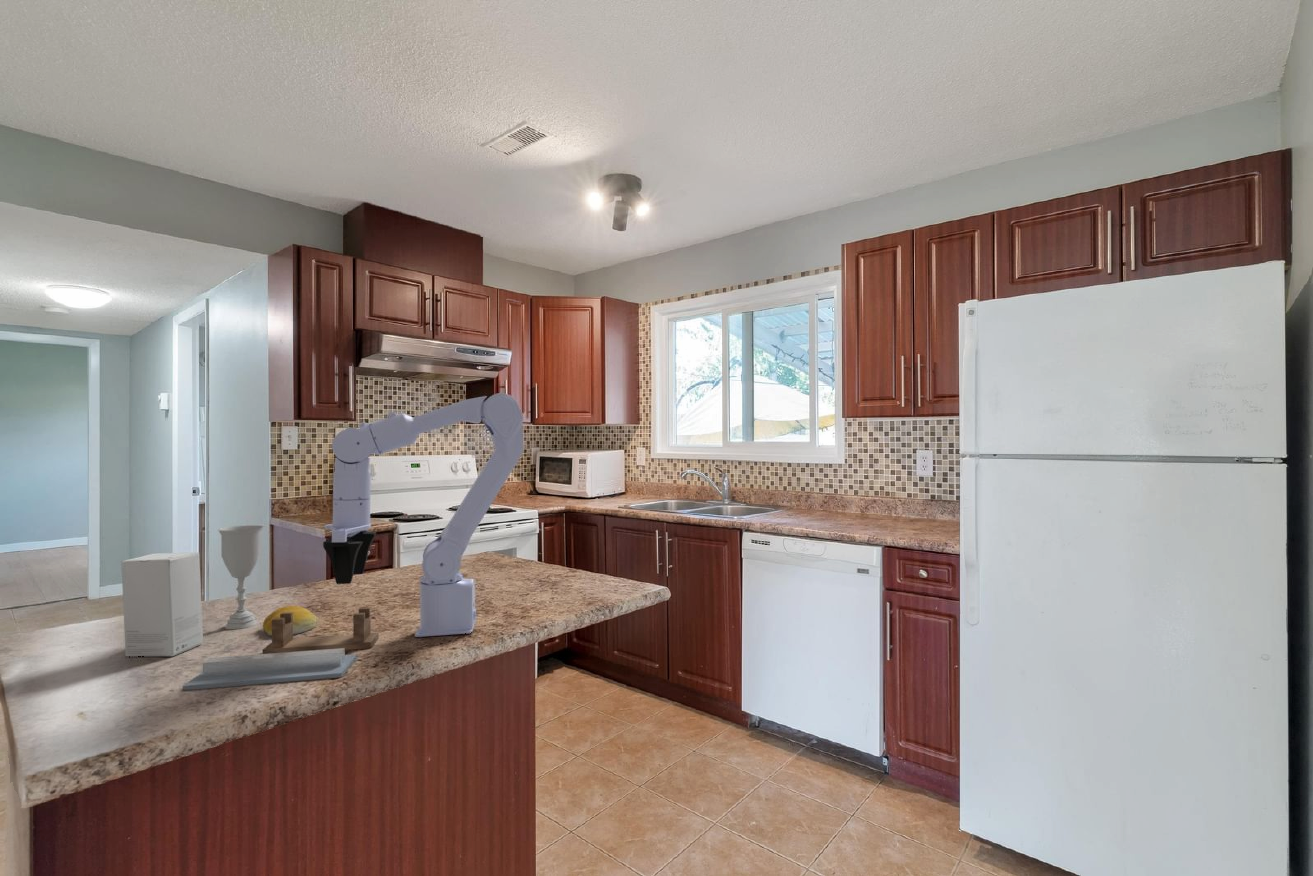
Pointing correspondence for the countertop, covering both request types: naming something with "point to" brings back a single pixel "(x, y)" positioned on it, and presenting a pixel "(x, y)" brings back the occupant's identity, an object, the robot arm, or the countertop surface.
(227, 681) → the slate mat
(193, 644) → the skincare box
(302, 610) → the bread roll
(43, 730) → the countertop surface
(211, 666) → the steel rail
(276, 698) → the countertop surface
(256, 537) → the chalice
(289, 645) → the cradle rack
